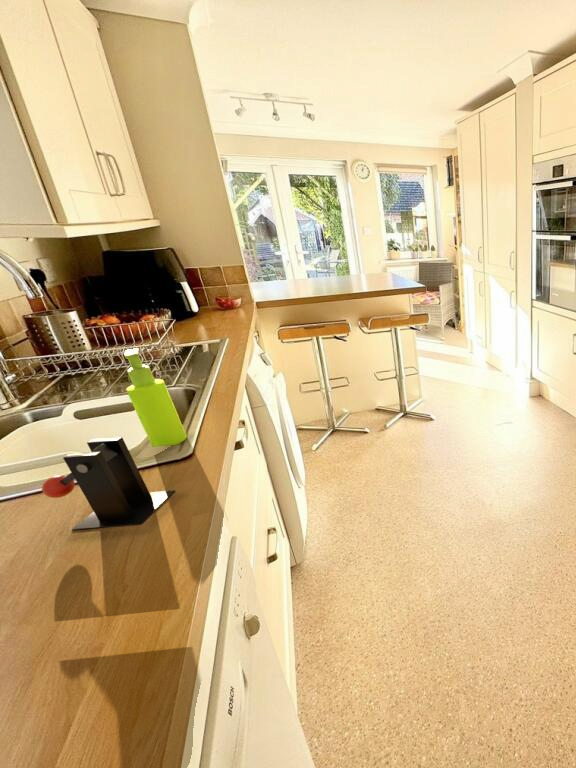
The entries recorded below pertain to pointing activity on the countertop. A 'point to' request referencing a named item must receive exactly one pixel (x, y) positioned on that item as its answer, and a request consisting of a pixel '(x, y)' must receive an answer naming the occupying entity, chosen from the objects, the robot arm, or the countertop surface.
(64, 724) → the countertop surface
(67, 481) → the lever
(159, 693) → the countertop surface
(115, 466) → the bracket
